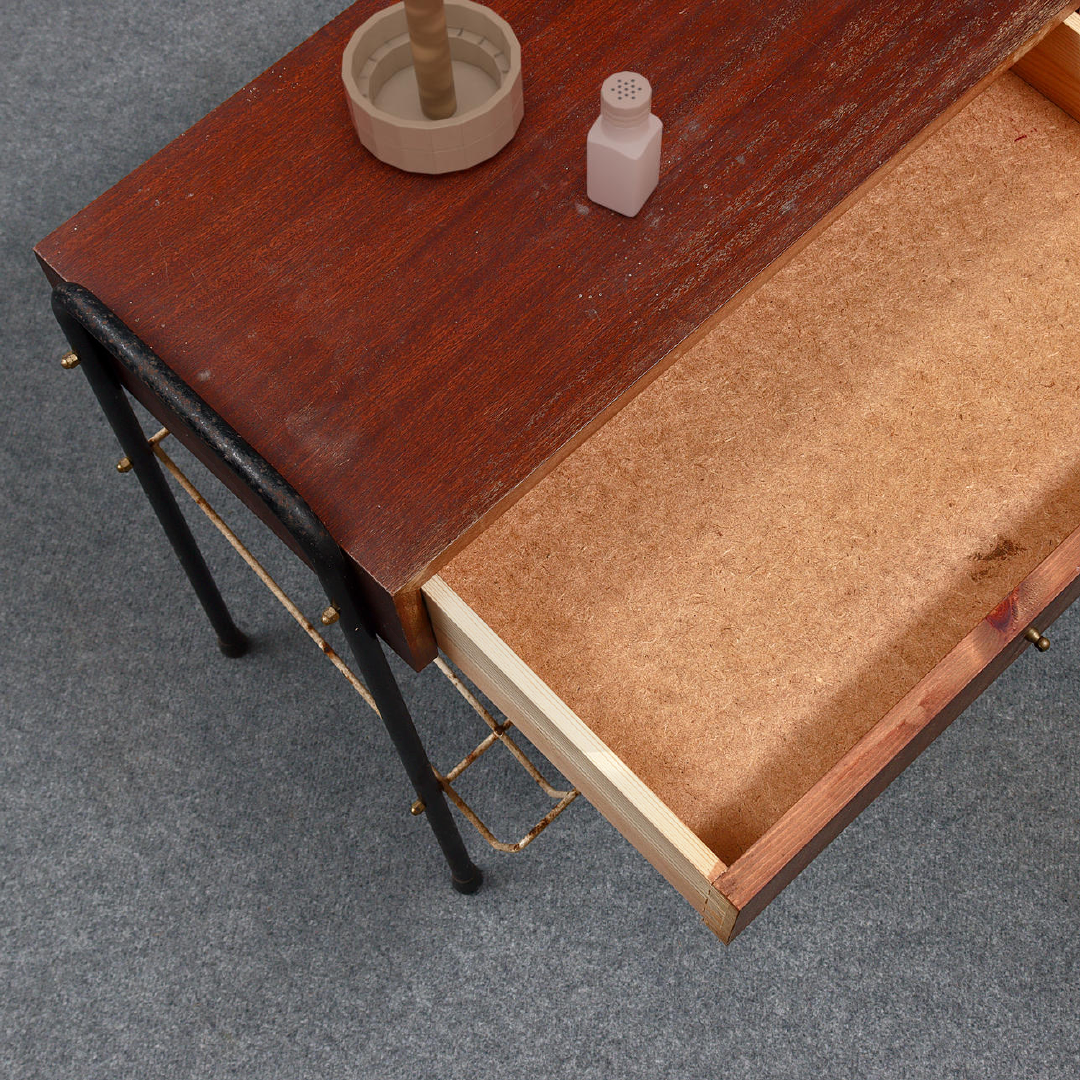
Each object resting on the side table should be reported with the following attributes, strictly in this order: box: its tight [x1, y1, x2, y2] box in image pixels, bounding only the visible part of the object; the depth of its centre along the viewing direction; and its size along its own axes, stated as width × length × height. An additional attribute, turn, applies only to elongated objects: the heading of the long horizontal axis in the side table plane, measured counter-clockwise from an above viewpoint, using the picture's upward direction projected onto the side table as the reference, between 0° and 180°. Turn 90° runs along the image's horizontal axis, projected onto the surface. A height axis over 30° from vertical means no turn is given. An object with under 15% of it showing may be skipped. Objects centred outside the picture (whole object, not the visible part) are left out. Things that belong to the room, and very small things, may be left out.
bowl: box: [340, 0, 525, 175], centre depth 90 cm, size 12×13×5 cm
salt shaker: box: [586, 70, 664, 218], centre depth 84 cm, size 4×4×10 cm
